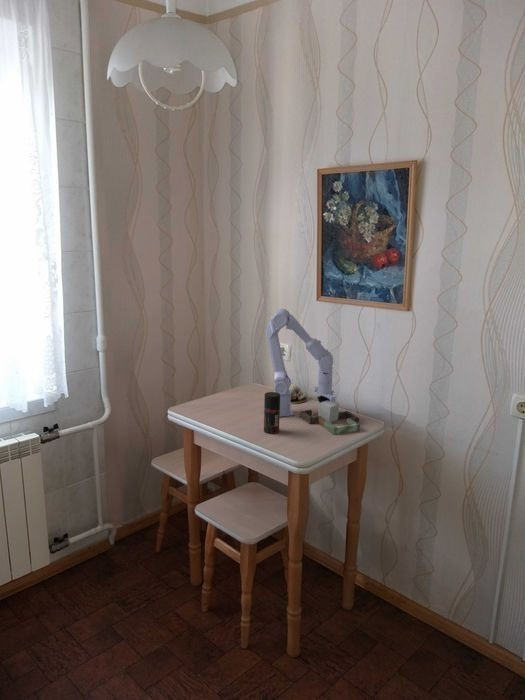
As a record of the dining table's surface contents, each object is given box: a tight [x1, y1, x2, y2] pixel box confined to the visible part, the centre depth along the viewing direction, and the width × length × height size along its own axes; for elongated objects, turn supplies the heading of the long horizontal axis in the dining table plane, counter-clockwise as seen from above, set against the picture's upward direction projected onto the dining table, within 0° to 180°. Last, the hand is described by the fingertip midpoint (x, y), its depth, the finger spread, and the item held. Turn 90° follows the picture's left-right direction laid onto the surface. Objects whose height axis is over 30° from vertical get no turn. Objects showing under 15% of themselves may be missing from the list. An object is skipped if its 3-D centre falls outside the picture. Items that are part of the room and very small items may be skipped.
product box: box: [317, 400, 340, 424], centre depth 222 cm, size 6×6×7 cm
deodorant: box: [263, 391, 281, 435], centre depth 208 cm, size 6×6×15 cm
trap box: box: [299, 409, 361, 435], centre depth 220 cm, size 19×22×3 cm
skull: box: [289, 383, 308, 405], centre depth 248 cm, size 12×10×10 cm
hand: (323, 412), depth 227 cm, fingers closed, pressing on product box
